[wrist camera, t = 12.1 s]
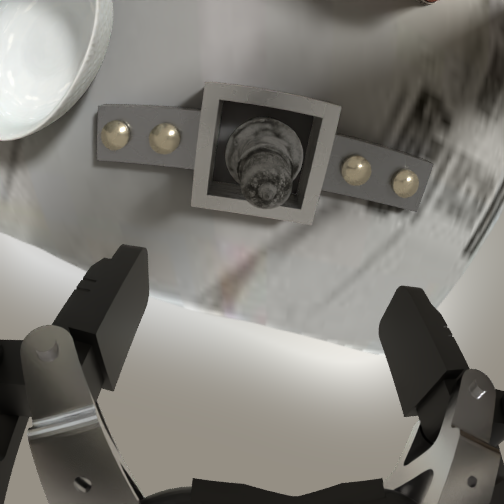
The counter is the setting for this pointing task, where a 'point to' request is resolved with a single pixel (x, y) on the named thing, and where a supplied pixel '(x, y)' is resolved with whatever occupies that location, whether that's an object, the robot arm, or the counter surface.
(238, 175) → the grey tall turned piece
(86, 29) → the cereal bowl
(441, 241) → the counter surface
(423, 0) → the lighter
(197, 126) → the studded gray strap
